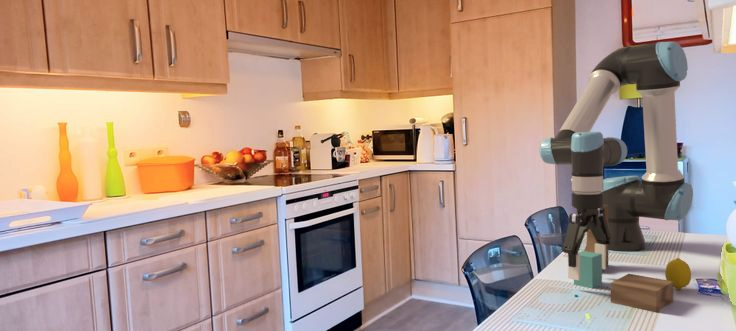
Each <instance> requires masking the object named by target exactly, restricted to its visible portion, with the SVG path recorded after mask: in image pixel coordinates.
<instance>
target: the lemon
mask: <svg viewBox="0 0 736 331" xmlns="http://www.w3.org/2000/svg"><path fill="white" fill-rule="evenodd" d="M664 271H665V272H664V274H665V280H668V281H673V288H674V289H675V290H677V291H680V290H681V289H683V288H684V289H685V288H686V287H687V286H689V284H690V282H691V280H692V271H691V267H690V265H689V264H688V263H687V262H686V261H685V260H683V259H681V258H678V257H676V258H675V259H672V260H670V261H669V262H667V264H666V267H665V270H664Z"/></svg>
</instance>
